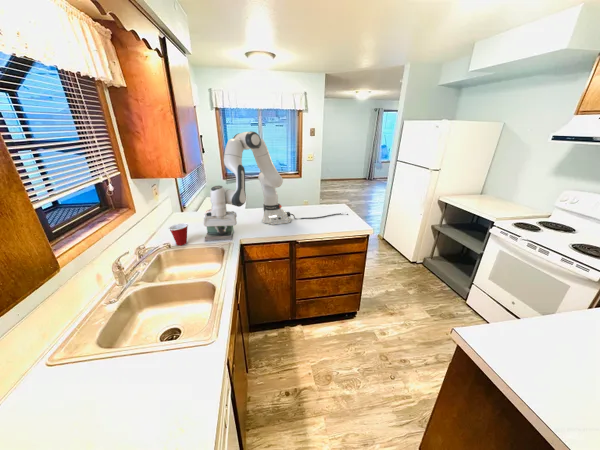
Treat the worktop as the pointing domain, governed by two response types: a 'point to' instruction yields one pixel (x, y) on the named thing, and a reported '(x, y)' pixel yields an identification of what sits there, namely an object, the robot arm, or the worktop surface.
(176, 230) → the plastic cup
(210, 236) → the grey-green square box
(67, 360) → the worktop surface
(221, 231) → the slider
